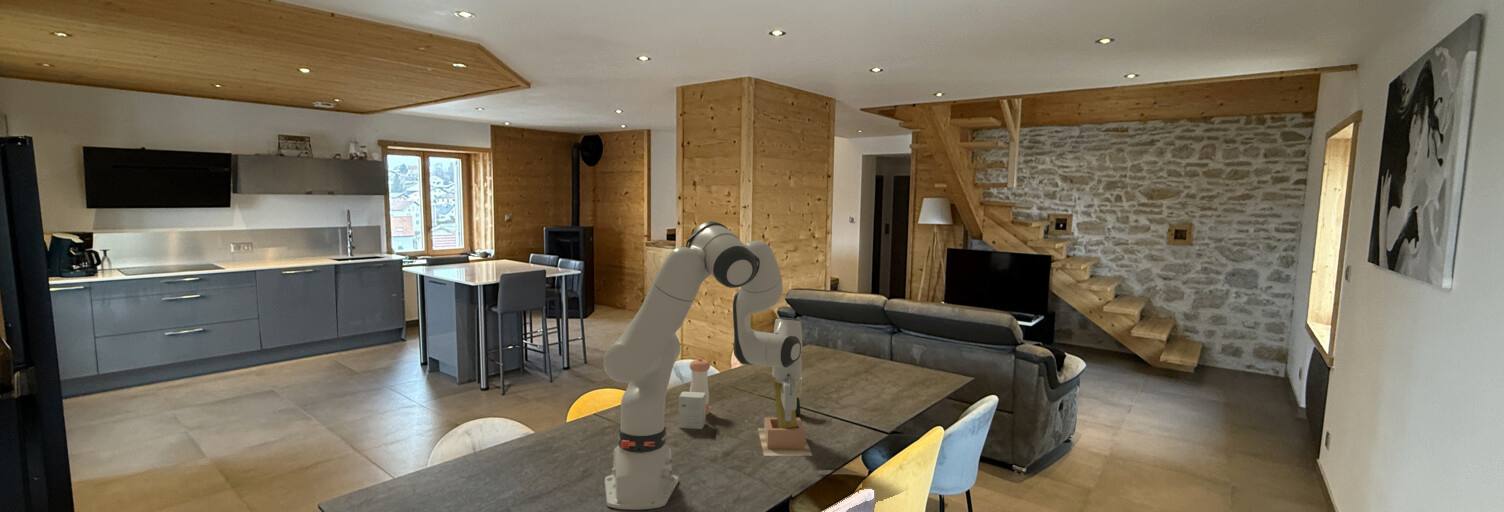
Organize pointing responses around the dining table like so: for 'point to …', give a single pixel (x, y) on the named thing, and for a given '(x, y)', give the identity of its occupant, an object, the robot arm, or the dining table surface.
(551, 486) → the dining table surface
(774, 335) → the robot arm
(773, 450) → the board
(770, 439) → the pink open box
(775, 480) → the dining table surface
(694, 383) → the pepper shaker
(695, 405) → the small box
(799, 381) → the character mug
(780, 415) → the vase
